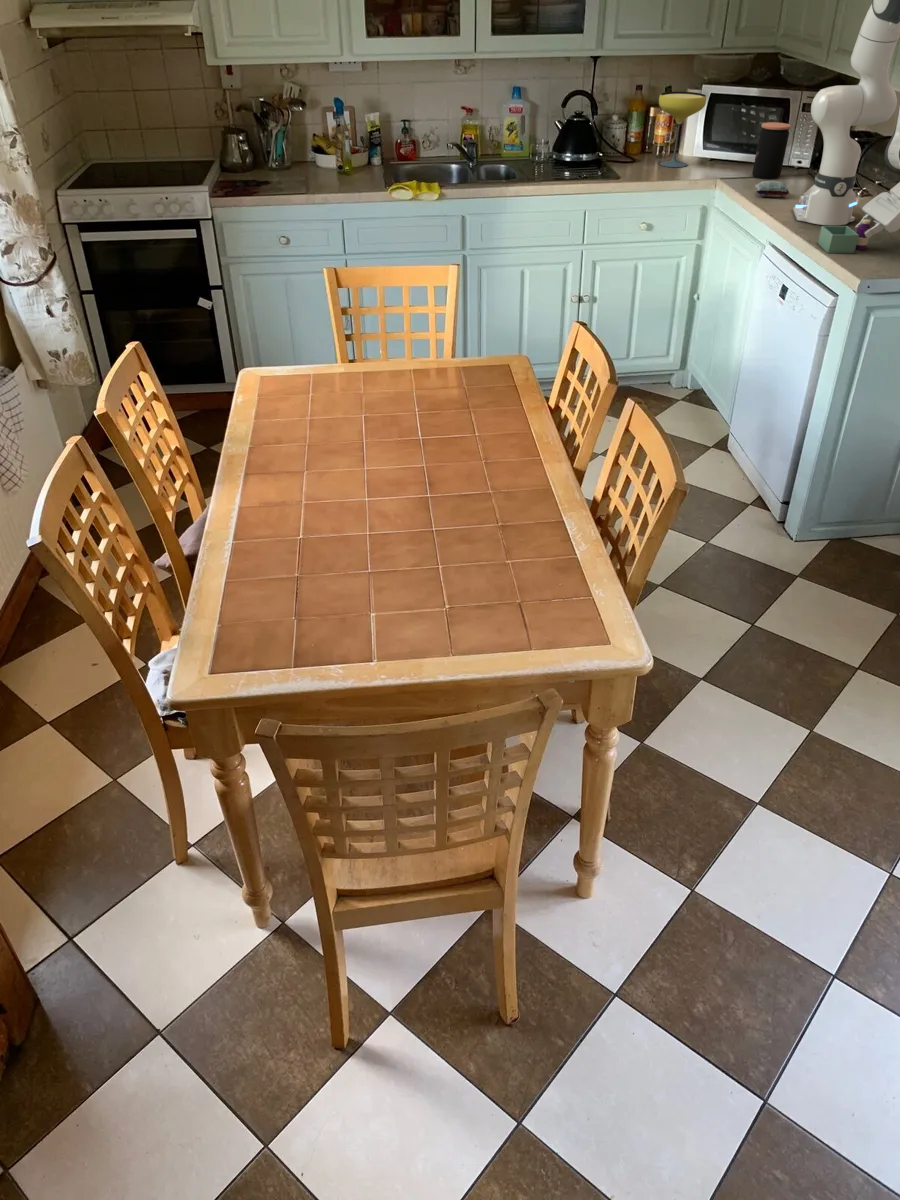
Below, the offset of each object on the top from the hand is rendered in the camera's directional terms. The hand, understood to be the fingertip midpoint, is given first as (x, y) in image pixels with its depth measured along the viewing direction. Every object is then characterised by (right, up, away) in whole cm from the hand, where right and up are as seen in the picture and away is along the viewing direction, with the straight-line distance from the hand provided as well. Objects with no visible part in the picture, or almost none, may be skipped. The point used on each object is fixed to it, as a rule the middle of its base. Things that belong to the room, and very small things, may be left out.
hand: (861, 232), depth 265 cm
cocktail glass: (-32, +68, +97) cm, 122 cm away
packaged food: (-7, +36, +55) cm, 66 cm away
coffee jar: (0, +55, +80) cm, 97 cm away
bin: (-6, -3, +3) cm, 8 cm away
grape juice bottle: (+1, -4, +3) cm, 4 cm away
